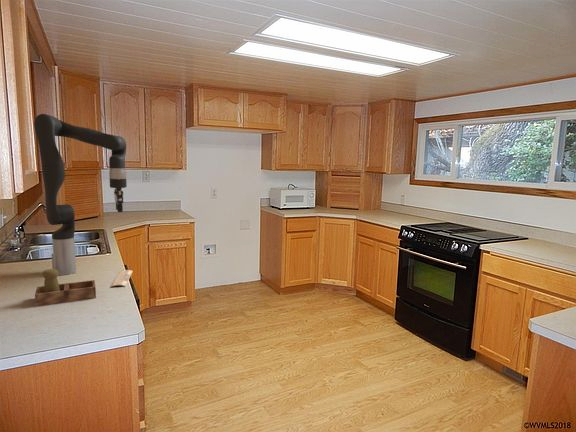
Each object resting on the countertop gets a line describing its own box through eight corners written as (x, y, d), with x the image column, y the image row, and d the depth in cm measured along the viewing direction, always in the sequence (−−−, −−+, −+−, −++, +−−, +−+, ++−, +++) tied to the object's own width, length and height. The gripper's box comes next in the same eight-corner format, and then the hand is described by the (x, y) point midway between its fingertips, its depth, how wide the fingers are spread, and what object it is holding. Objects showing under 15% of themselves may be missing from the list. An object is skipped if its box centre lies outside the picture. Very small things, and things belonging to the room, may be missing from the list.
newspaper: (119, 273, 191) (119, 270, 191) (135, 273, 193) (135, 269, 193) (110, 289, 169) (110, 285, 168) (127, 288, 170) (127, 284, 170)
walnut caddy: (35, 306, 146) (34, 294, 146) (38, 297, 155) (37, 286, 154) (96, 297, 156) (95, 287, 155) (94, 290, 165) (94, 280, 164)
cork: (57, 293, 157) (55, 266, 155) (63, 296, 153) (61, 269, 152) (40, 296, 152) (38, 269, 151) (46, 300, 149) (44, 272, 147)
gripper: (108, 177, 192) (109, 209, 194) (110, 178, 180) (112, 213, 182) (124, 177, 196) (126, 209, 198) (127, 178, 183) (129, 212, 186)
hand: (119, 211), depth 190 cm, fingers open, 8 cm apart
